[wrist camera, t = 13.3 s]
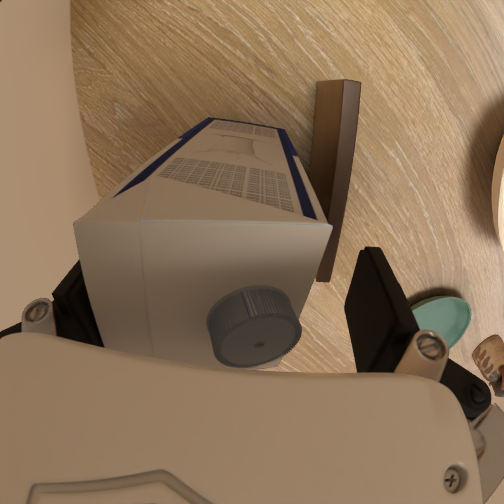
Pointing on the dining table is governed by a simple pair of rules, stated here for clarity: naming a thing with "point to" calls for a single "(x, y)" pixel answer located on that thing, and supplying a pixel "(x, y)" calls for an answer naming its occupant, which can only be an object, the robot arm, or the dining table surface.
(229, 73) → the dining table surface
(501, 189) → the bowl
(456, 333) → the saucer
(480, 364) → the figurine
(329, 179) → the shelf
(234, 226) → the milk carton
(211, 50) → the dining table surface
